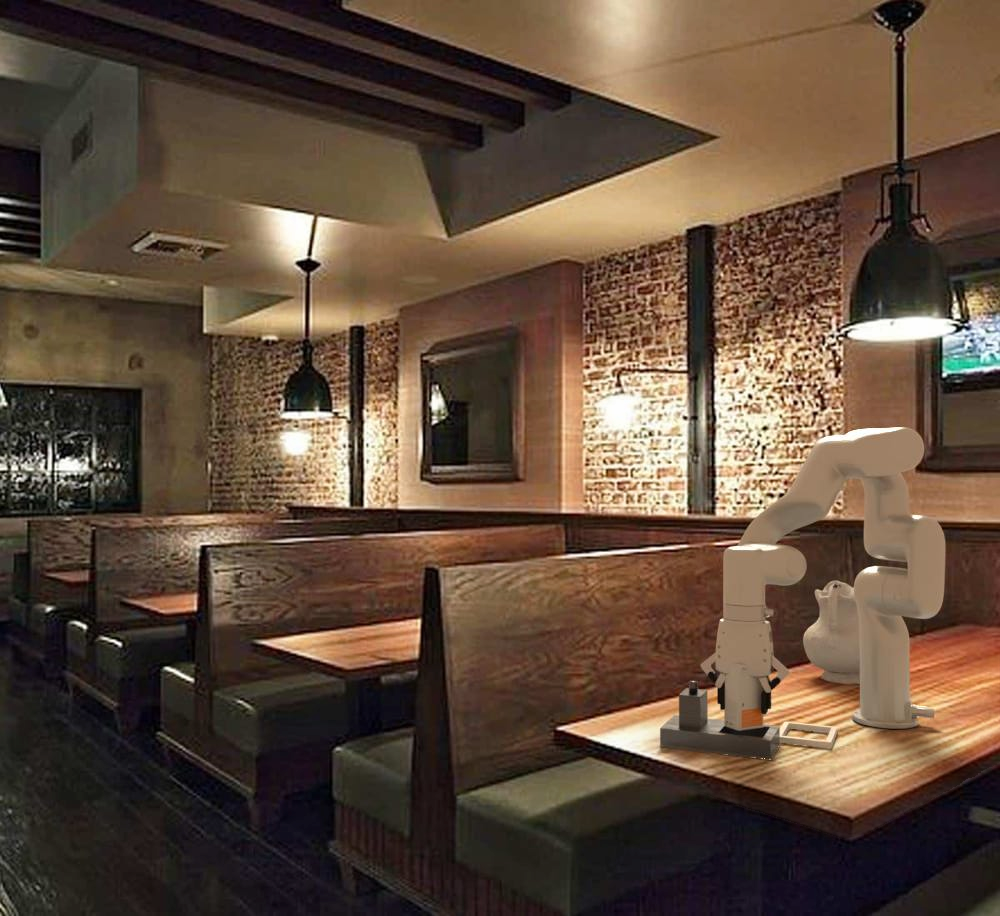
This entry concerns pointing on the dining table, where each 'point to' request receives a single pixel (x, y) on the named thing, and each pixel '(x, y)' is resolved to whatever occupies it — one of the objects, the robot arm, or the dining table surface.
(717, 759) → the dining table surface
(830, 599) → the ceramic pitcher
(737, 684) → the skincare box
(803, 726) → the tray frame
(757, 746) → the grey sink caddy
